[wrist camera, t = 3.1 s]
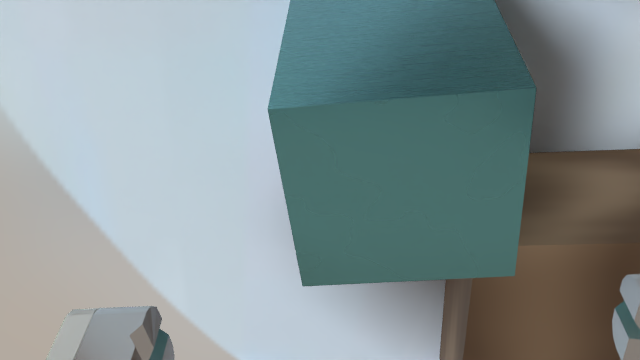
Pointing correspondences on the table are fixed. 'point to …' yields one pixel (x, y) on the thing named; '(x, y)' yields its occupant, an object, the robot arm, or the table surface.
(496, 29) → the spice tin
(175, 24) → the table surface
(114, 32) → the table surface
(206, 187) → the table surface
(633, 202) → the walnut block
